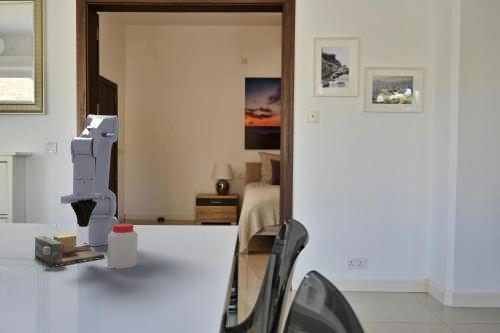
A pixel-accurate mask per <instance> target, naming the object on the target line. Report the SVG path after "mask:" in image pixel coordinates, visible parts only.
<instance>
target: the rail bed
mask: <svg viewBox="0 0 500 333" xmlns="http://www.w3.org/2000/svg"><path fill="white" fill-rule="evenodd" d="M47 246H52V254H49V255H44V254H43V247H47ZM96 258H101V259H105V254H104V253H101V252H98V251H96V250H94V249H91V245H90V244H85V243H83V244H79V245H77V244H76V246H74V251H68V252H64V254H62V243H61V242H58V241H56V240H54V238H51V237H49V236H45V235H44V236H36V237H34V259H36V260H38V261H40V262H42V263H44V264H45V265H48V266H50V265H51V266H50V267H52V266H54V267H57V266H56V265H60V266H62V265H61V264H66V265H69V264H68V263H72V264H74V263H73V262H78V263H80V262H79V261H83V262H85V261H84V260H89V261H91V260H90V259H95V260H97V259H96Z"/></svg>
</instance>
